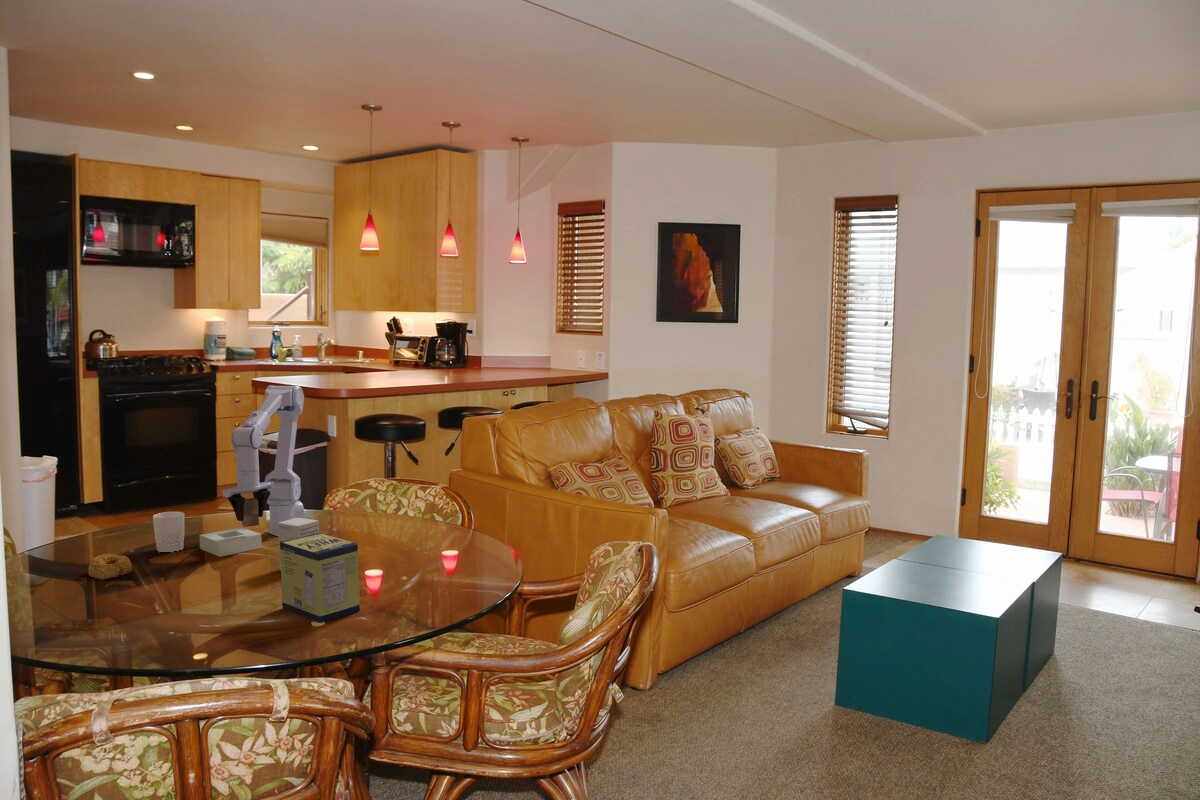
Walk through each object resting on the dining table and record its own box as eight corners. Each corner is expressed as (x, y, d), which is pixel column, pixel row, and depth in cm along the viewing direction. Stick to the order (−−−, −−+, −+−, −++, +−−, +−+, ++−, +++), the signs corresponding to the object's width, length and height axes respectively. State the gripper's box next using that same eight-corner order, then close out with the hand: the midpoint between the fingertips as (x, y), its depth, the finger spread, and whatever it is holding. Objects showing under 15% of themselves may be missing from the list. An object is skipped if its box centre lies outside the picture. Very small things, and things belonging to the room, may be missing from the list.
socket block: (241, 540, 261) (240, 526, 260) (261, 548, 253) (261, 534, 252) (200, 548, 252) (199, 534, 251) (219, 556, 244) (219, 542, 243)
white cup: (177, 553, 247) (175, 518, 246) (149, 553, 247) (147, 517, 246) (191, 546, 254) (189, 511, 253) (163, 546, 255) (161, 511, 254)
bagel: (82, 582, 222) (81, 563, 221) (94, 570, 232) (94, 552, 232) (126, 579, 224) (126, 561, 224) (137, 567, 235) (136, 549, 235)
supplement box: (278, 570, 231) (276, 522, 230) (300, 563, 238) (298, 516, 237) (299, 574, 228) (297, 525, 227) (321, 567, 235) (319, 519, 233)
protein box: (321, 596, 211) (319, 531, 209) (361, 611, 201) (359, 543, 200) (280, 608, 203) (278, 541, 201) (320, 623, 193) (318, 553, 191)
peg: (256, 522, 253) (255, 497, 252) (259, 525, 249) (258, 500, 248) (241, 523, 251) (240, 499, 250) (243, 527, 247) (242, 502, 247)
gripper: (262, 464, 257) (264, 511, 258) (215, 472, 245) (217, 521, 246) (277, 467, 252) (279, 515, 254) (230, 475, 241) (232, 525, 242)
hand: (249, 518), depth 250 cm, fingers closed on peg, 5 cm apart
